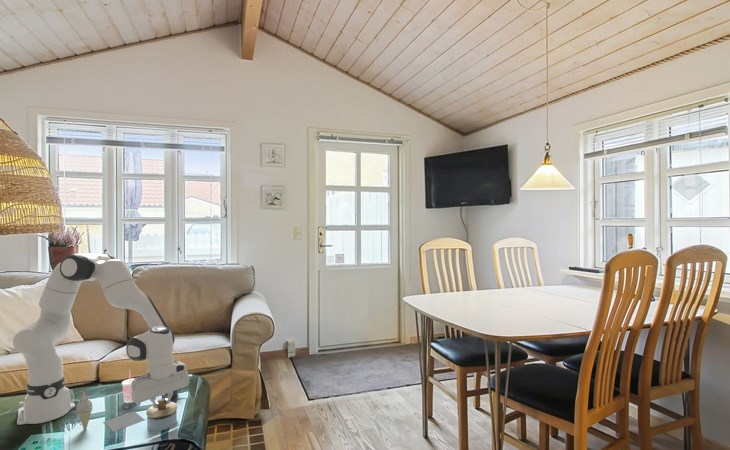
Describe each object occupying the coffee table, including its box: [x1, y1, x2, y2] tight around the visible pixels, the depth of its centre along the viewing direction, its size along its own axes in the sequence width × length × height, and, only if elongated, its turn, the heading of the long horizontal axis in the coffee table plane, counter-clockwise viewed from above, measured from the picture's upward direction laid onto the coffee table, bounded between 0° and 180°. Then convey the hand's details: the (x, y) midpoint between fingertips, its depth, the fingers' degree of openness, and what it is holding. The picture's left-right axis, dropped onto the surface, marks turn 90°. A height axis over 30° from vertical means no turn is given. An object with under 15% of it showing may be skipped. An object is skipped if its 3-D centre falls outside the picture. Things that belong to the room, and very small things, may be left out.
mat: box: [103, 410, 145, 433], centre depth 156 cm, size 11×11×1 cm
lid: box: [146, 398, 178, 418], centre depth 154 cm, size 10×10×4 cm
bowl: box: [146, 409, 178, 432], centre depth 154 cm, size 10×10×4 cm
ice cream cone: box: [75, 391, 94, 431], centre depth 151 cm, size 5×5×15 cm
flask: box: [161, 390, 178, 400], centre depth 176 cm, size 9×3×11 cm, turn 172°
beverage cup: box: [121, 369, 136, 404], centre depth 174 cm, size 6×6×14 cm
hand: (161, 405), depth 154 cm, fingers closed on lid, 3 cm apart
